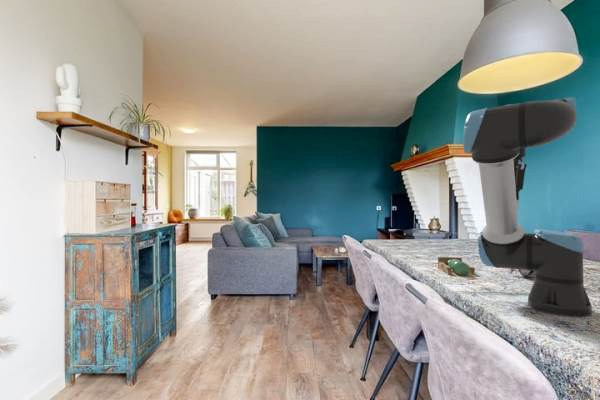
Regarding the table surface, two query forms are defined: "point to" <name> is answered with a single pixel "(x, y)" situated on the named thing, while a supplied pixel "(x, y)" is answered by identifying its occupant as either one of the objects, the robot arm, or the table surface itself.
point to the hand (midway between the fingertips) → (514, 208)
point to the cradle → (446, 269)
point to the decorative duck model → (525, 273)
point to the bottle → (459, 267)
